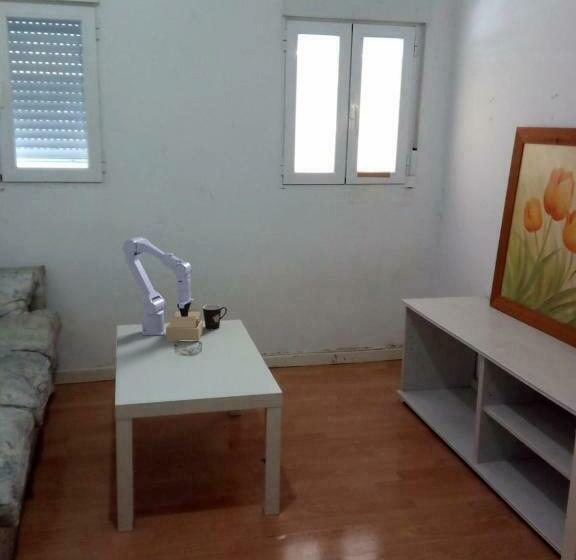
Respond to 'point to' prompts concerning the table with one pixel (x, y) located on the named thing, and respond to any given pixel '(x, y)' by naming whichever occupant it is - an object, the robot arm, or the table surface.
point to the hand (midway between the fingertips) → (184, 319)
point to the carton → (184, 333)
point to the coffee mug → (212, 316)
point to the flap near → (182, 322)
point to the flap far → (189, 314)
